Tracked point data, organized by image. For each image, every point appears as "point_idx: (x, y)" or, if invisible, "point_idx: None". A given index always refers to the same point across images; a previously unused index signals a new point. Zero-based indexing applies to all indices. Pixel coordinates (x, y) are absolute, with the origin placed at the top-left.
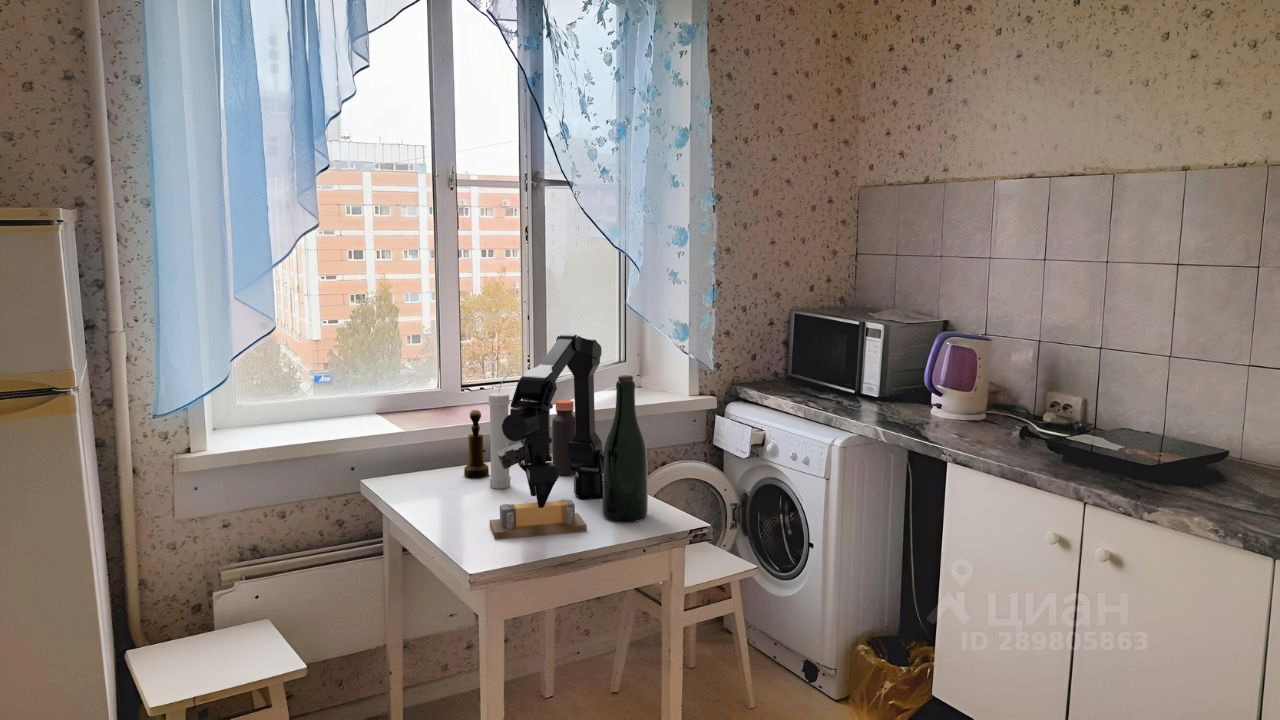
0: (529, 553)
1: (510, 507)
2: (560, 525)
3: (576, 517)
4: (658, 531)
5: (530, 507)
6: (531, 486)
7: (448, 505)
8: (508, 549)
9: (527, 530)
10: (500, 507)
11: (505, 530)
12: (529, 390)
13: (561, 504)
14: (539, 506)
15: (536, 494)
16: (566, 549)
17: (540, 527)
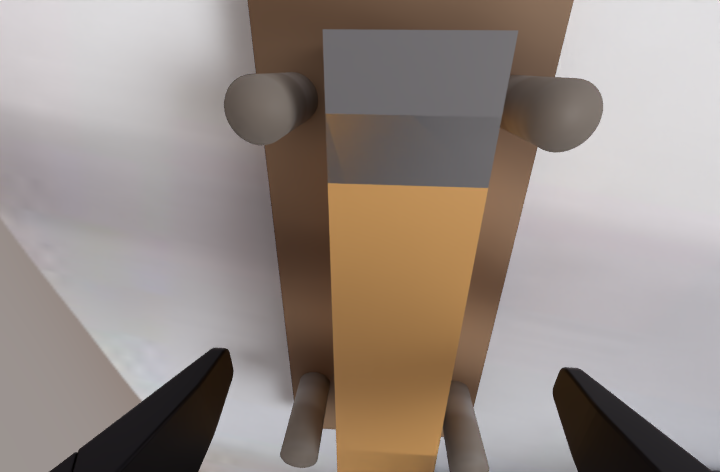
0: (25, 147)
1: (384, 139)
2: (309, 351)
3: None
4: None
5: (335, 296)
6: (618, 454)
7: None
8: (73, 41)
9: (272, 199)
10: (457, 31)
11: (279, 58)
12: None
13: (351, 452)
14: (207, 358)
15: (82, 450)
16: (98, 301)
17: (296, 269)
